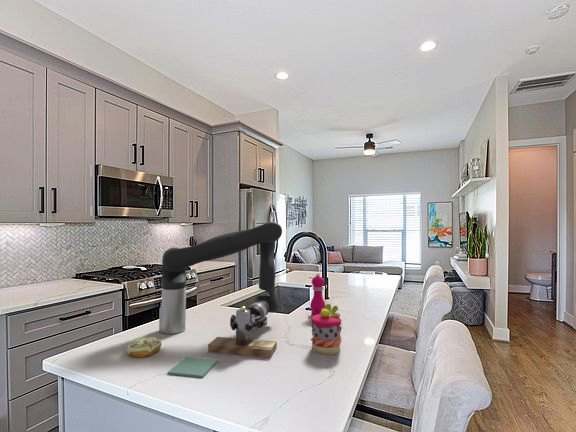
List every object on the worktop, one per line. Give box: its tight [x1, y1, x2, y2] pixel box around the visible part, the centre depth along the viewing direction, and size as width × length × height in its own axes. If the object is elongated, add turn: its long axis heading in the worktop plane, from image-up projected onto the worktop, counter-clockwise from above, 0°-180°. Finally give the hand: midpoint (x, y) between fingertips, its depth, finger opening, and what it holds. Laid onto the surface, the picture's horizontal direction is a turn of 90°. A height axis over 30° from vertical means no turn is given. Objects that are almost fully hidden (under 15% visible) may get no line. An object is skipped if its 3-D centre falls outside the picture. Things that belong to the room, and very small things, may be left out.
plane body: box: [207, 336, 278, 359], centre depth 113 cm, size 22×8×3 cm, turn 79°
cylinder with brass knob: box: [235, 305, 251, 346], centre depth 113 cm, size 5×5×13 cm
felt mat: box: [167, 356, 219, 379], centre depth 99 cm, size 11×11×1 cm
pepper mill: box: [309, 272, 326, 317], centre depth 158 cm, size 7×7×20 cm
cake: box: [310, 303, 342, 356], centre depth 115 cm, size 10×11×15 cm
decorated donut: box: [126, 336, 162, 359], centre depth 111 cm, size 10×11×4 cm
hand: (240, 327), depth 111 cm, fingers closed on cylinder with brass knob, 4 cm apart
